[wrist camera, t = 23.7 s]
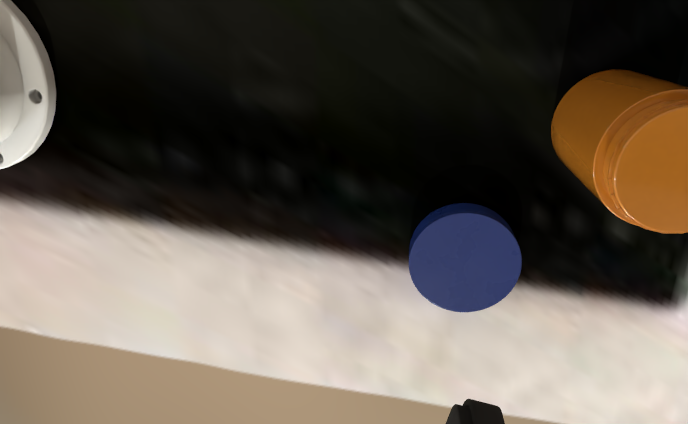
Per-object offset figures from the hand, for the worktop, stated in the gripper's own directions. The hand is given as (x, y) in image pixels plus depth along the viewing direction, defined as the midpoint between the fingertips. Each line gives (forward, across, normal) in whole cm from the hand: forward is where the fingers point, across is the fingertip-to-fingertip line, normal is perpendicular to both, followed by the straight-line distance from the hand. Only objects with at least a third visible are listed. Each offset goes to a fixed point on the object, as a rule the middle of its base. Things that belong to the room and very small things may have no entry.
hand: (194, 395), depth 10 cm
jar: (+25, -16, -4) cm, 29 cm away
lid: (+23, -10, +6) cm, 26 cm away
